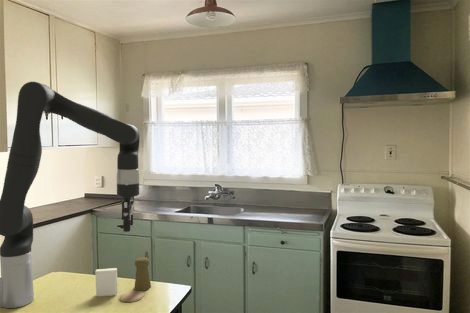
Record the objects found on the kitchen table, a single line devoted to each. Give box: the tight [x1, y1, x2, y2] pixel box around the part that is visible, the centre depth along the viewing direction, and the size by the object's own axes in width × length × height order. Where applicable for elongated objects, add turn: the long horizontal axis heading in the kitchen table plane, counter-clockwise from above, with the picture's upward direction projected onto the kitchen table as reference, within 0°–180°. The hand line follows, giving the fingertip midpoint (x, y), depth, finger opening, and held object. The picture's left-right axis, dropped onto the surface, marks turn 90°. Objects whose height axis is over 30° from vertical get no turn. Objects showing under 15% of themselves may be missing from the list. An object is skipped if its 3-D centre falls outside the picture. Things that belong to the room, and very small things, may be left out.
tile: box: [94, 267, 119, 297], centre depth 132 cm, size 7×2×9 cm, turn 99°
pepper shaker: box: [134, 256, 152, 292], centre depth 137 cm, size 6×6×11 cm
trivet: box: [119, 290, 145, 303], centre depth 129 cm, size 8×8×1 cm
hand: (128, 228), depth 129 cm, fingers open, 8 cm apart
